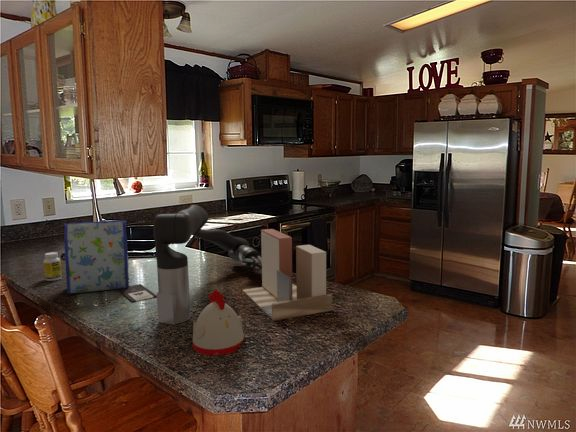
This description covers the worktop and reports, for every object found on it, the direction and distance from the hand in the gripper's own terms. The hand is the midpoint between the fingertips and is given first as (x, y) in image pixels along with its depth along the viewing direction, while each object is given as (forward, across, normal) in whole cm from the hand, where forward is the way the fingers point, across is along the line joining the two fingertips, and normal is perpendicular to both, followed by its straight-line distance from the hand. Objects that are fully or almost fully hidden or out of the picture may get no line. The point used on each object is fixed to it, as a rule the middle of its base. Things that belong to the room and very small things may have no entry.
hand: (264, 267), depth 165 cm
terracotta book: (+13, 0, +6) cm, 14 cm away
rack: (+20, 0, +8) cm, 21 cm away
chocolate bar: (-12, -46, +8) cm, 48 cm away
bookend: (+29, -7, +6) cm, 31 cm away
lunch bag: (-26, -59, +8) cm, 65 cm away
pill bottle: (-46, -77, +8) cm, 90 cm away
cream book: (+28, +6, +6) cm, 30 cm away
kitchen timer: (+42, -29, +8) cm, 52 cm away
